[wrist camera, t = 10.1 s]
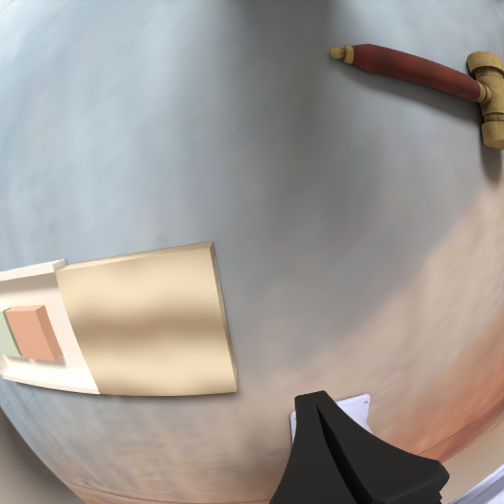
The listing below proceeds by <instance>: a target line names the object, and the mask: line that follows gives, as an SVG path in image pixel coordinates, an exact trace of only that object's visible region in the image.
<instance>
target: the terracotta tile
mask: <svg viewBox="0 0 504 504" xmlns="http://www.w3.org/2000/svg"><path fill="white" fill-rule="evenodd" d="M6 315H7V318H8V321H9V324H10V326H11V329H12V331H13V334H14V337H15V339H16V341H17V344H18V346H19V349H20V351H21V353H22V355H23V358H29V359H39V360H49V361H56V360H57V359H58V357H59V356H60V355H61V354H62V351H61V348H60V346H59V343H58V341H57V338H56V336H55V333H54V331H53V328H52V325H51V322H50V320H49V317H48V314H47V311H46V308H45V305H44V304H43V305H28V306H14V307H12V308H11V309H9V310H7V311H6Z"/></svg>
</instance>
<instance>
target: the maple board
mask: <svg viewBox="0 0 504 504" xmlns="http://www.w3.org/2000/svg"><path fill="white" fill-rule="evenodd" d="M55 274H56V278H57V282H58V285H59V289H60V292H61V296H62V299H63V302H64V306H65V309H66V312H67V315H68V318H69V321H70V324H71V326H72V329H73V332H74V335H75V337H76V340H77V342H78V345H79V347H80V350H81V352H82V355H83V357H84V360H85V362H86V364H87V366H88V369H89V371H90V373H91V375H92V377H93V379H94V382H95V384H96V386H97V388H98V390H99V392H100V394H112V395H134V396H178V395H200V394H215V393H227V392H237V391H238V388H237V369H236V364H235V359H234V354H233V349H232V344H231V339H230V334H229V328H228V323H227V318H226V313H225V307H224V302H223V296H222V291H221V285H220V279H219V273H218V268H217V262H216V256H215V249H214V243H213V242H206V243H199V244H192V245H186V246H179V247H172V248H166V249H159V250H153V251H147V252H140V253H134V254H128V255H122V256H115V257H109V258H103V259H97V260H91V261H85V262H79V263H73V264H70V265H68V266H66V267H64V268H62V269H60V270H58V271H56V272H55Z"/></svg>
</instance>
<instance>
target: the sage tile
mask: <svg viewBox="0 0 504 504" xmlns="http://www.w3.org/2000/svg"><path fill="white" fill-rule="evenodd" d="M9 309H11V306H10V307H0V354H1V355H7V356H15V357H21V356H22V353H21V351H20V349H19V346H18V344H17V341H16V339H15V337H14V334H13V331H12V329H11V326H10V324H9V321H8V318H7V315H6V311H7V310H9Z"/></svg>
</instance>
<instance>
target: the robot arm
mask: <svg viewBox="0 0 504 504" xmlns="http://www.w3.org/2000/svg"><path fill="white" fill-rule="evenodd" d="M365 401H366V402H365ZM369 404H370V396H369V394H364V395H360V396H357V397H353V398H350V399H346V400H342V401H338V402H334V401H333V400H332V398H331V397H330V396H329V395H328V394H327V393H326V392H325V391H324V390H323V391H319V392H314V393H309V394H304V395H299V396H296V397H295V411H293V412H292V413H291V414H290V419H291V431H292V444H293V446H292V450H291V454H290V457H289V461H288V464H287V467H286V469H285V472H284V475H283V477H282V479H281V482H280V484H279V486H278V488H277V490H276V492H275V494H274V496H273V498H272V499H271V501H270V503H269V504H442V503H441V502H440V500H441V499H442V496H441V495H440V493H439V492H440V490H441V489H442V488H443V486H444V485H445V484H446V483H447V481H448V479H449V476H450V475H449V473H448V472H447V470H446V469H445V468H444V466H443V465H442V464H441V463H440V462H439V461H437V460H433V459H429V458H424V457H420V456H417V455H414V454H411V453H408V452H406V451H404V450H401V449H399V448H397V447H394V446H392V445H390V444H388V443H386V442H385V441H383V440H381V439H379V438H378V437H376V436H374V435H373V433H372V431H371V430H370V428H369V426H368V424H367V422H366V421H367V415H368V410H369ZM448 504H504V464H503V465H501V466H500V467H499V468H498V469H497V470H495V471H494V472H493V473H492V474H490V475H489V476H488V477H486V478H485V479H484V480H483V481H481V482H480V483H478V484H477V485H476V486H474V487H473V488H472V489H470V490H469V491H467V492H466V493H464V494H463V495H461V496H460V497H458V498H457V499H455V500H454V501H452V502H450V503H448Z"/></svg>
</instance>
